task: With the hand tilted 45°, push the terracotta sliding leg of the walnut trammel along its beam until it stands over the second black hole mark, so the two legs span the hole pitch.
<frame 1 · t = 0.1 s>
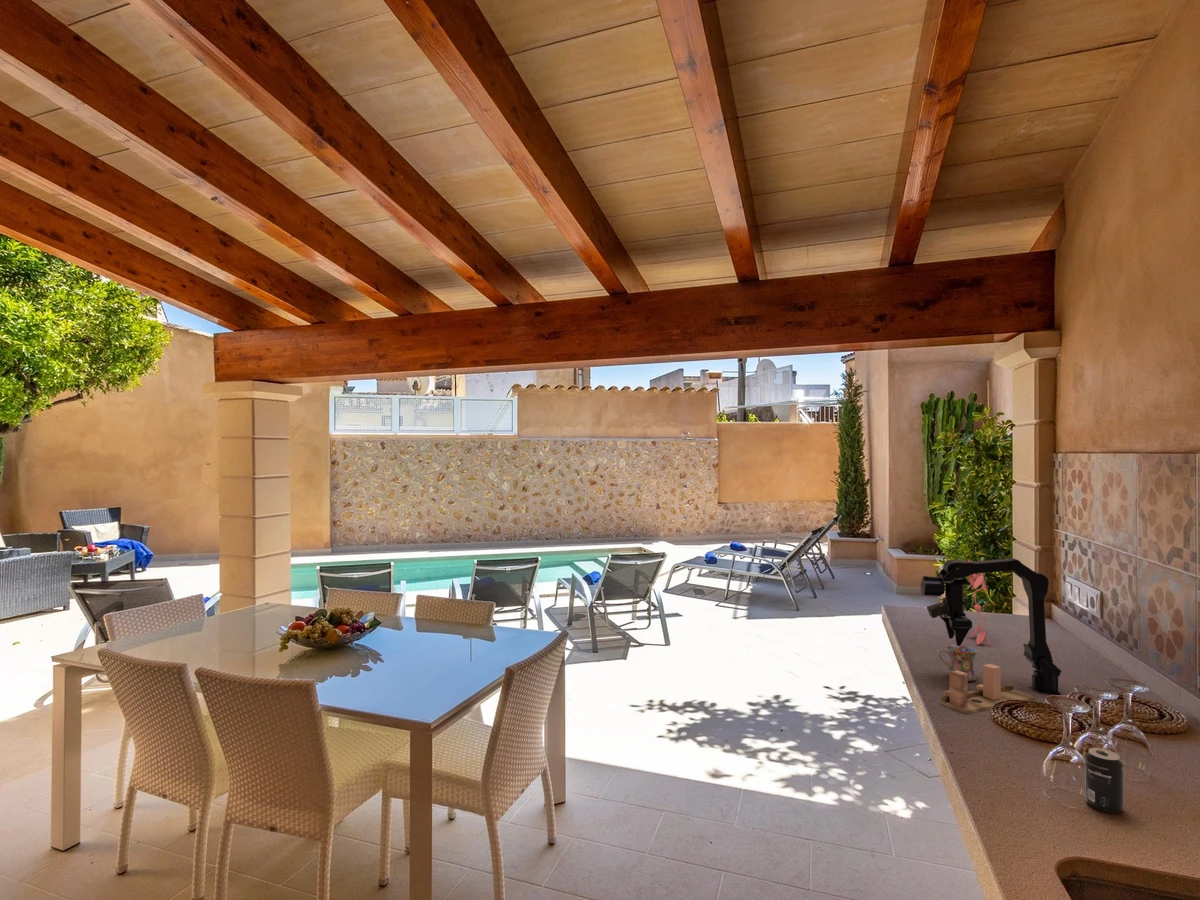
hand: (954, 642, 226), 15 cm above the kitchen counter, tool pointing down, fingers open, 9 cm apart
beverage can: (1104, 808, 146), on the kitchen counter
figurine: (970, 641, 279), on the kitchen counter
trammel board: (988, 702, 209), on the kitchen counter
mug: (957, 678, 232), on the kitchen counter
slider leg: (987, 680, 211), point 6 cm above the kitchen counter, slide at 0.0 cm
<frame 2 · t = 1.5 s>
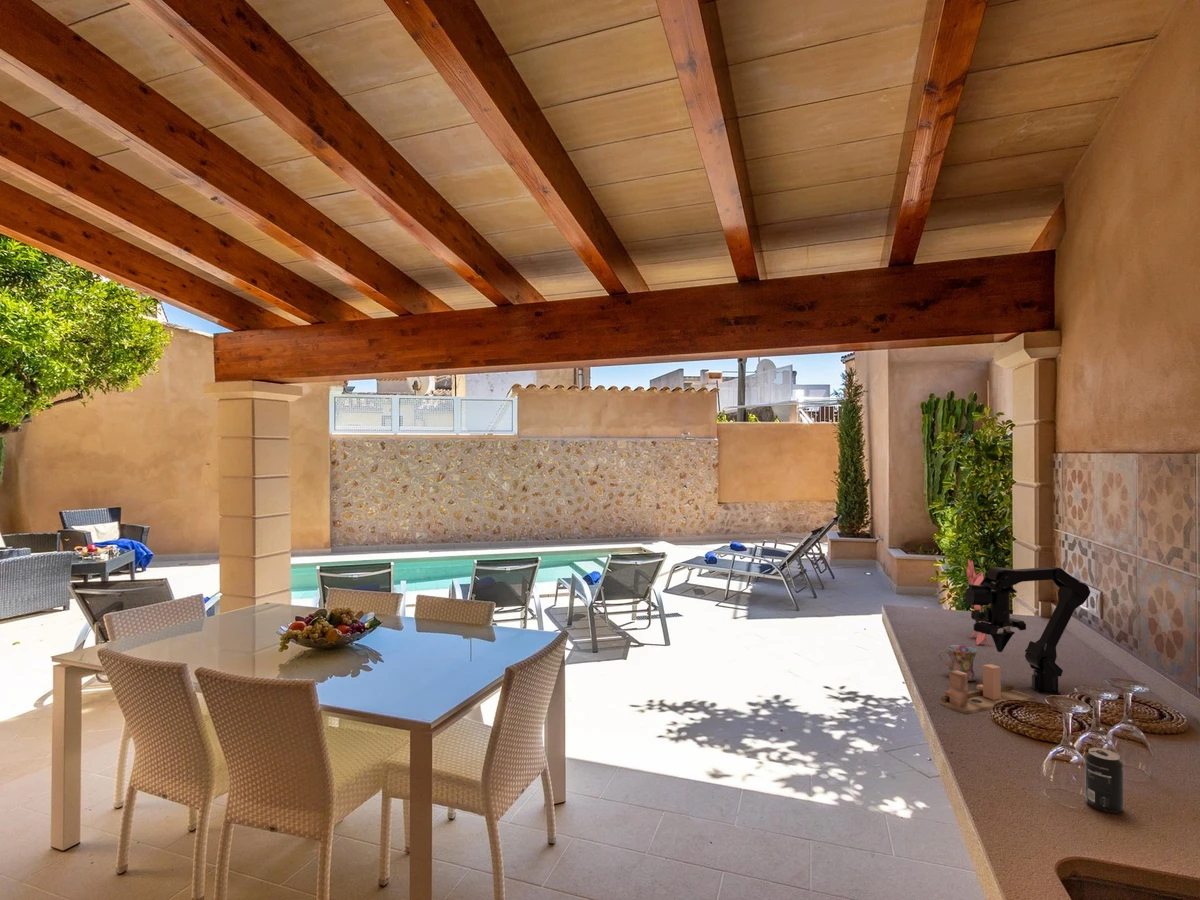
hand: (999, 651, 220), 13 cm above the kitchen counter, tool pointing down, fingers closed
nothing on the kitchen counter moved.
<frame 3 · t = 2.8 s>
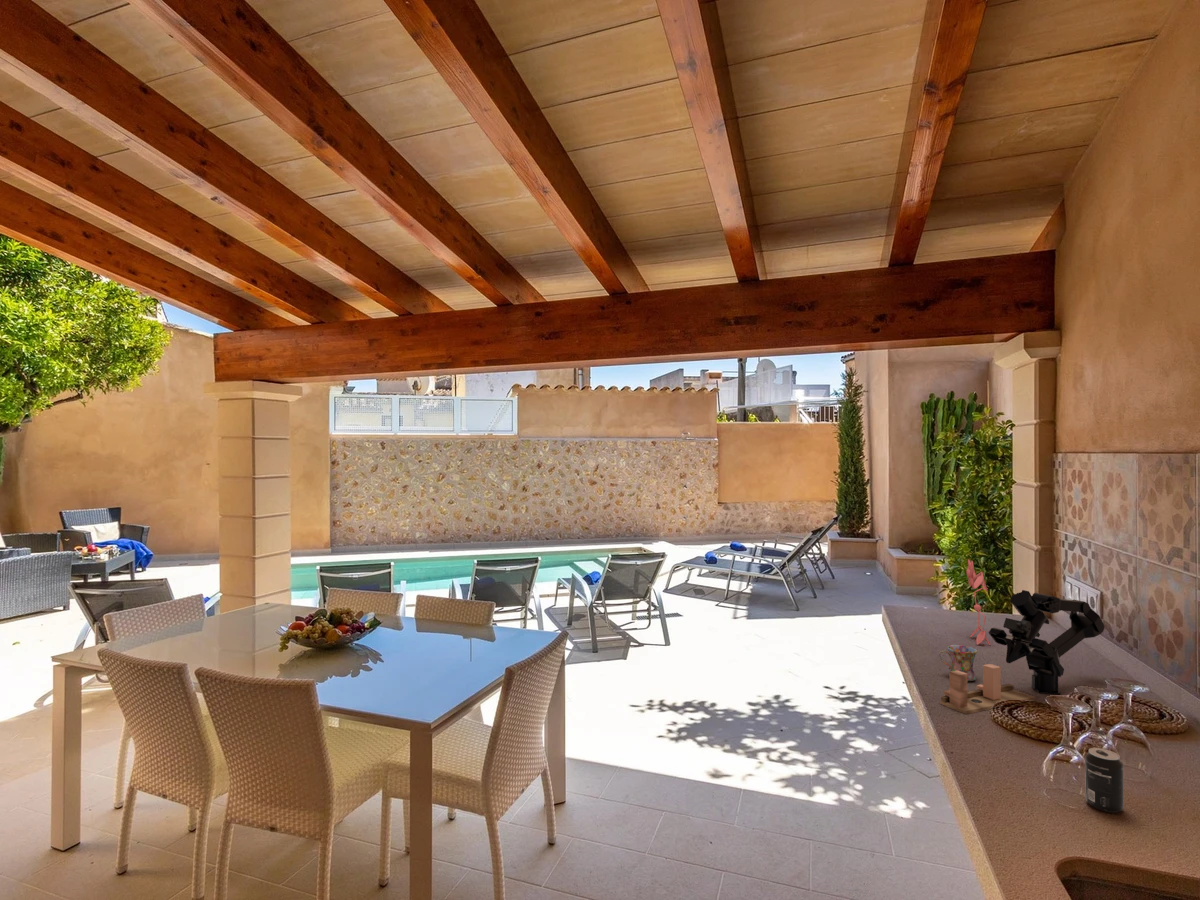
hand: (1007, 662, 213), 12 cm above the kitchen counter, tool tilted 45°, fingers closed
nothing on the kitchen counter moved.
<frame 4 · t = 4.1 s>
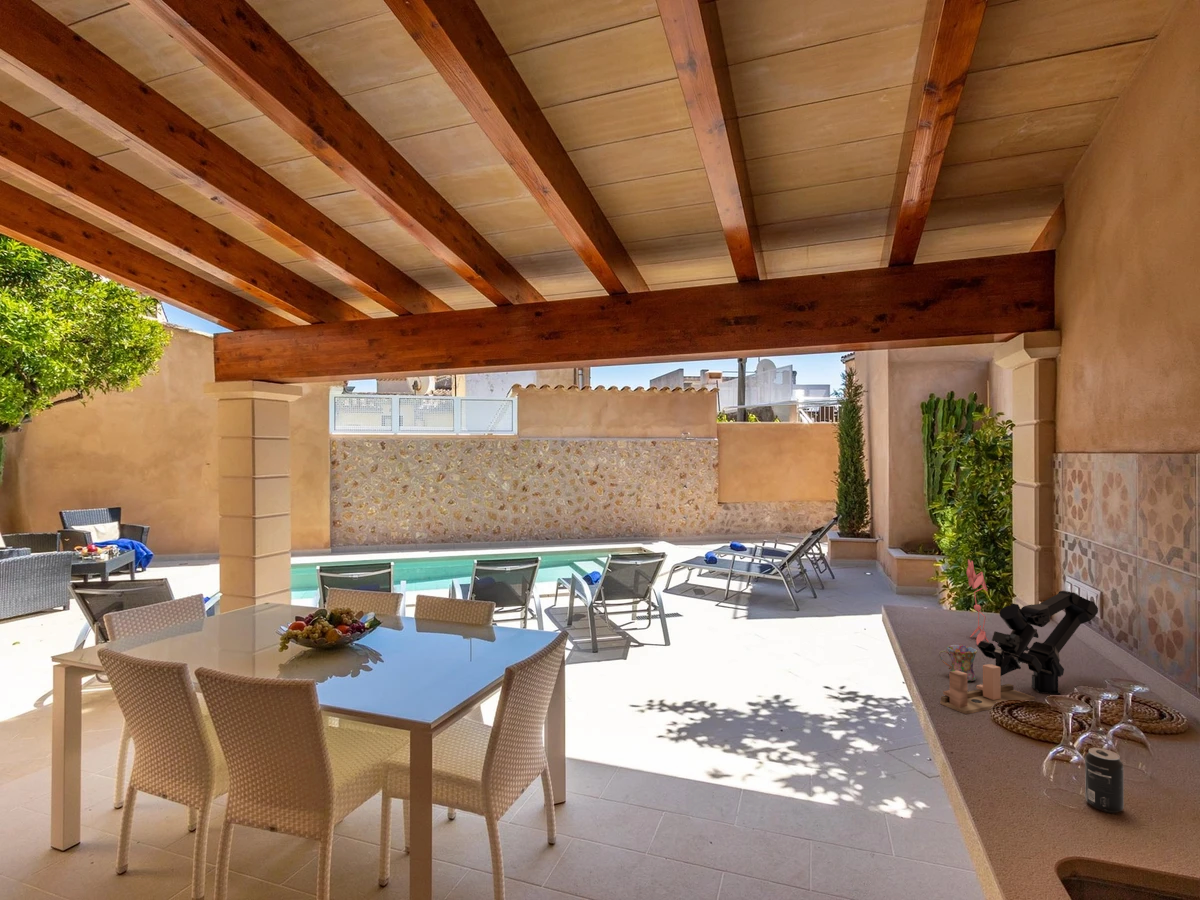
hand: (996, 676, 211), 8 cm above the kitchen counter, tool tilted 45°, fingers closed, pressing on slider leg
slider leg: (987, 680, 211), point 6 cm above the kitchen counter, slide at 0.1 cm, touching gripper
everything else where it was.
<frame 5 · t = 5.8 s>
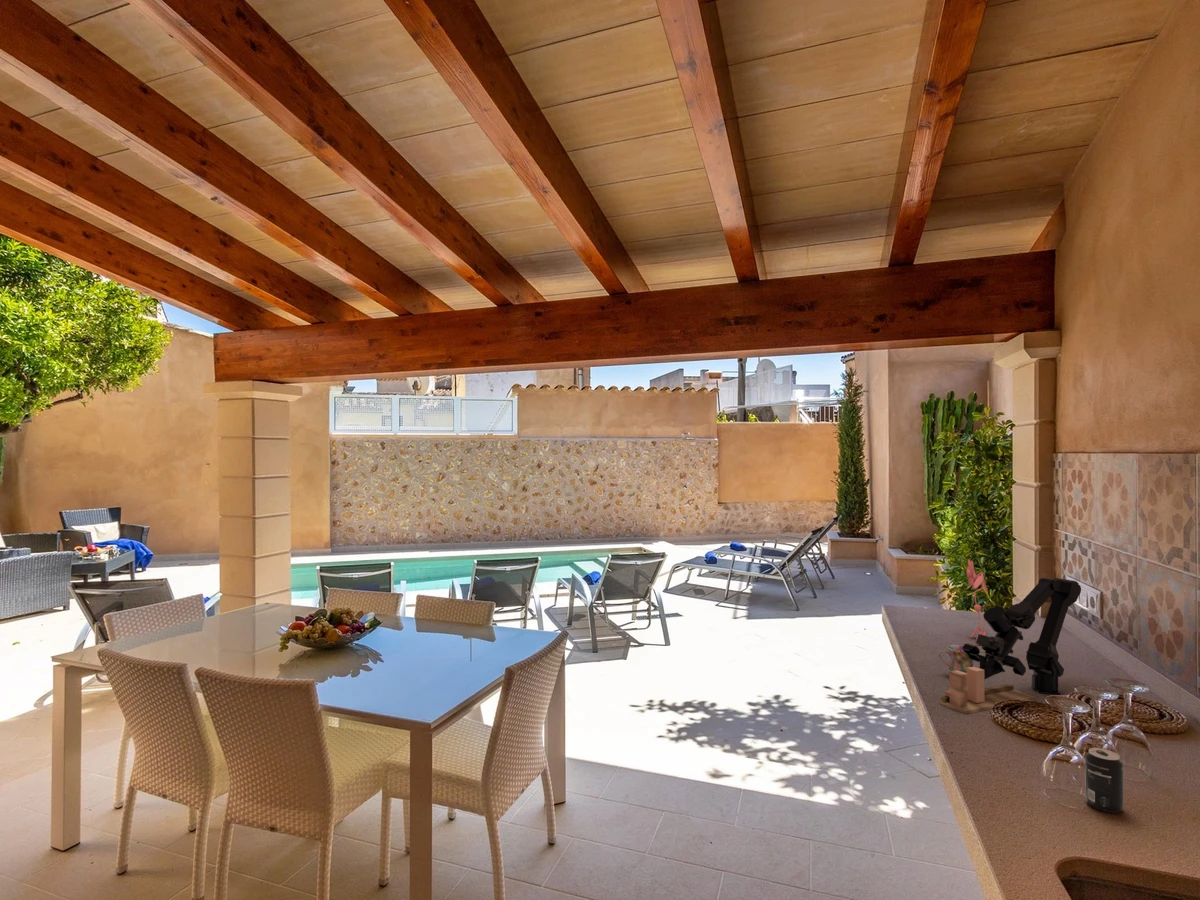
hand: (979, 679, 208), 8 cm above the kitchen counter, tool tilted 45°, fingers closed
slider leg: (971, 683, 209), point 6 cm above the kitchen counter, slide at 7.4 cm
everything else where it was.
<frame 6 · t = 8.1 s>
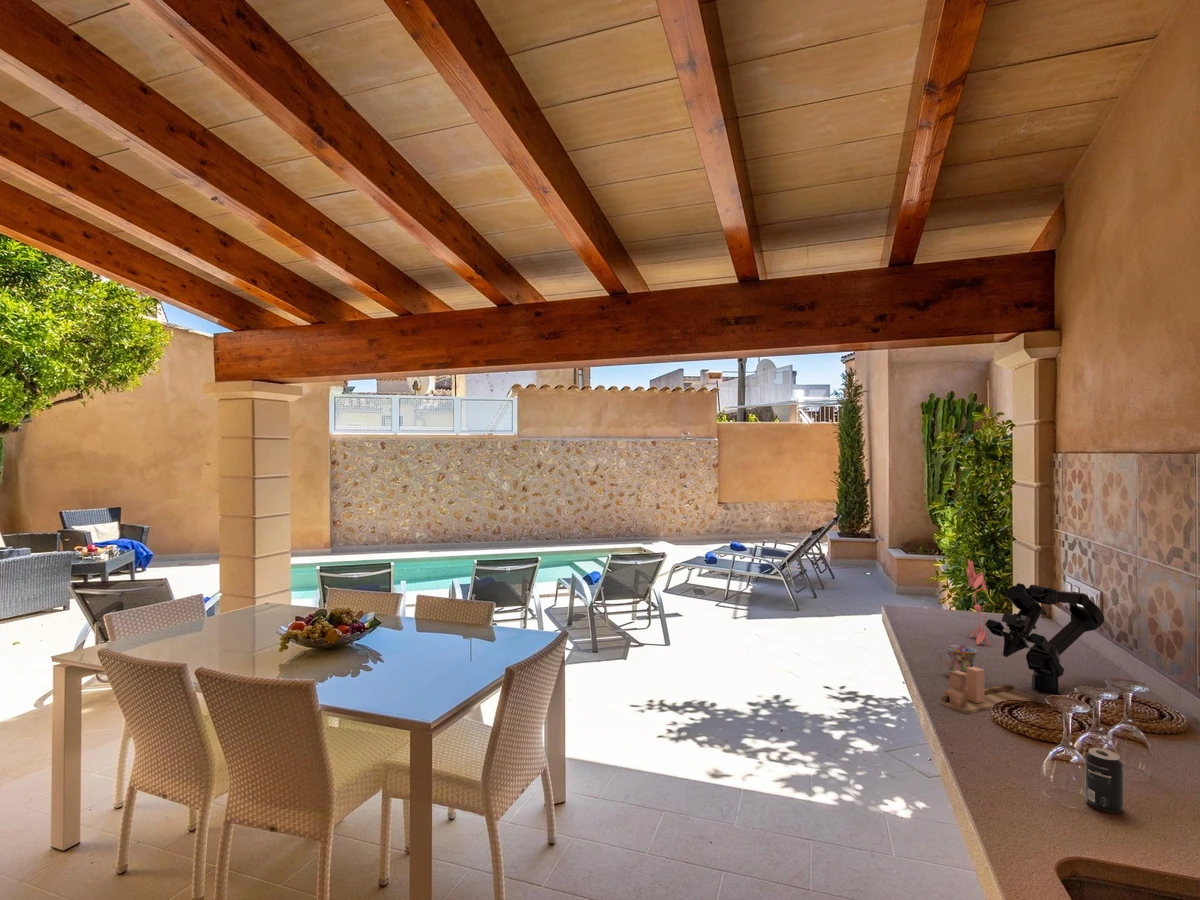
hand: (1004, 656, 213), 14 cm above the kitchen counter, tool tilted 40°, fingers closed
nothing on the kitchen counter moved.
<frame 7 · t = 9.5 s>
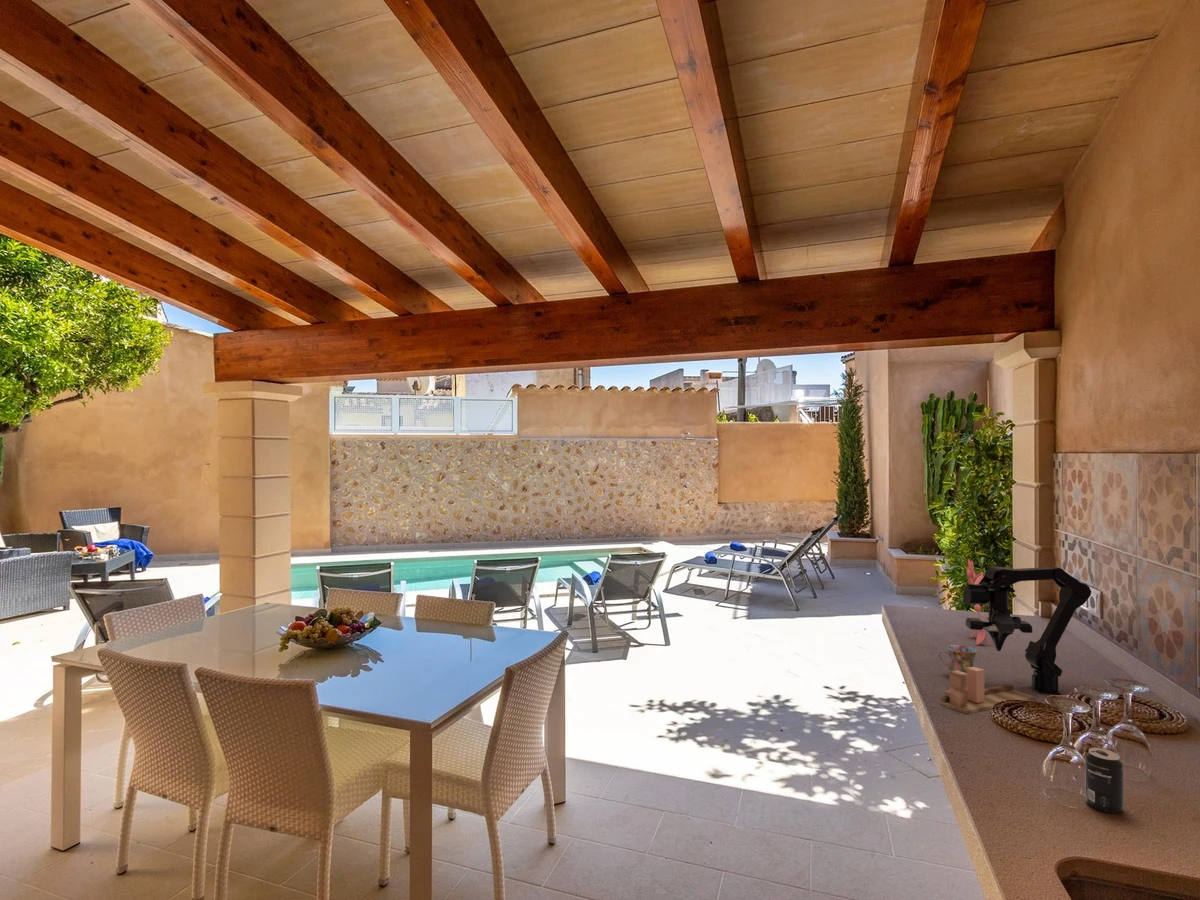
hand: (998, 650, 221), 13 cm above the kitchen counter, tool pointing down, fingers closed
nothing on the kitchen counter moved.
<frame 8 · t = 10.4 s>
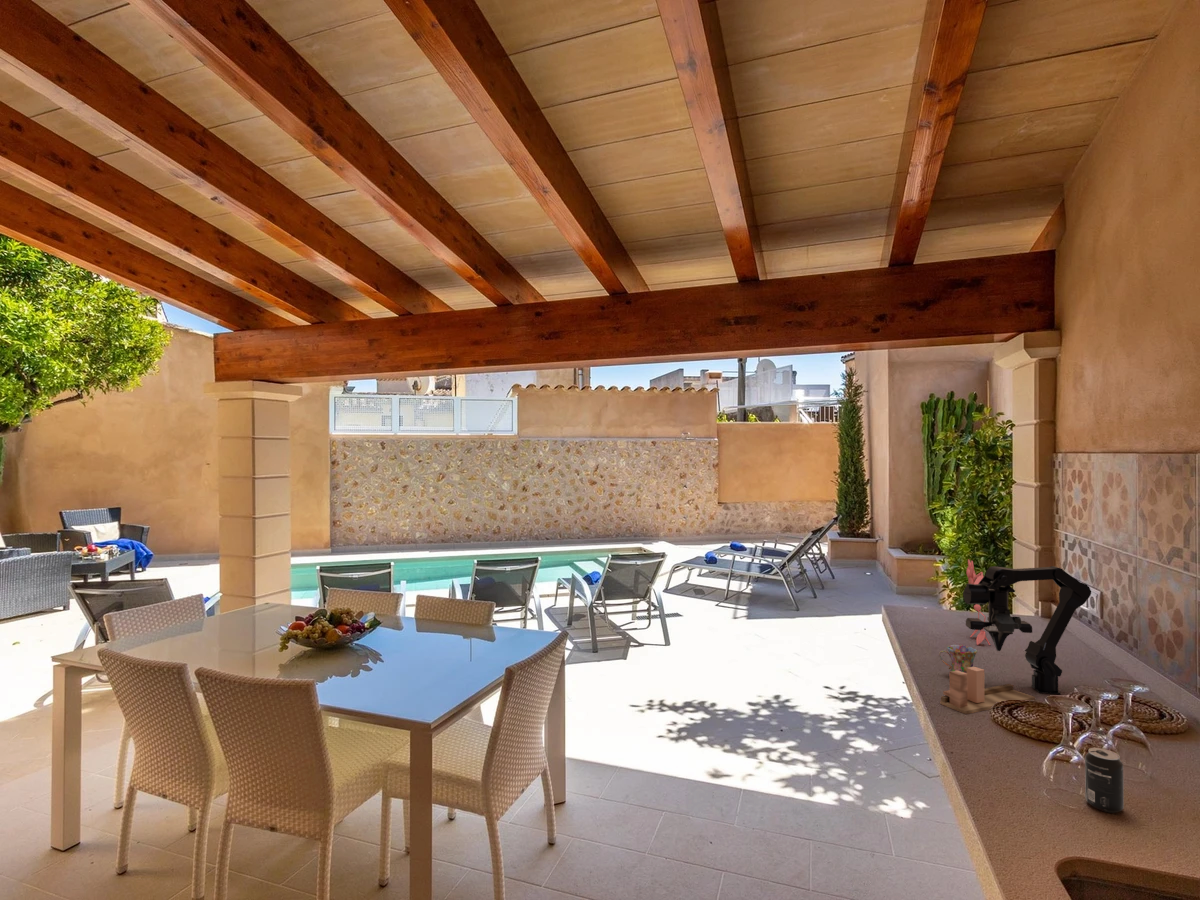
hand: (998, 650, 221), 13 cm above the kitchen counter, tool pointing down, fingers closed
nothing on the kitchen counter moved.
at the end: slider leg slide at 7.4 cm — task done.
